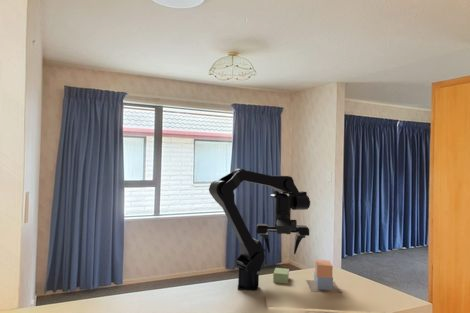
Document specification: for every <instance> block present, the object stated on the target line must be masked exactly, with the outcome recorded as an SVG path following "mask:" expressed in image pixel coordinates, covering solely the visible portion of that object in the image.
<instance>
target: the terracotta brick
mask: <svg viewBox="0 0 470 313" xmlns="http://www.w3.org/2000/svg"><path fill="white" fill-rule="evenodd" d="M333 267H334V266H333V264H332V263H331V261H330V260H326V259H325V260H324V259H314V271H315V273H316V276H317V277H323V278H332V277H333V269H334V268H333Z"/></svg>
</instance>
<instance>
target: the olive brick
mask: <svg viewBox="0 0 470 313" xmlns="http://www.w3.org/2000/svg"><path fill="white" fill-rule="evenodd" d="M289 273H290V268H283V267H282V268H281V267H275V268H274V271H273V274H272V276H273V277H272V279H273V281H272V283H277V284H289V277H290V274H289Z"/></svg>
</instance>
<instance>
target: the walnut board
mask: <svg viewBox="0 0 470 313" xmlns="http://www.w3.org/2000/svg"><path fill="white" fill-rule="evenodd" d="M305 281H306V283H307V285H308V288H309V289H310V292H312V293H331V294H332V293H333V294H343V292H342V290H341V289H340V287H338V286H339V285H337V284H336V282H335V281H334V280H333V290H320V289H317V287H316V285H315V283H314V280H310V279H306V280H305Z"/></svg>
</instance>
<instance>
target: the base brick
mask: <svg viewBox="0 0 470 313" xmlns="http://www.w3.org/2000/svg"><path fill="white" fill-rule="evenodd" d="M313 273H314V274H313V278H314V283H315V285H316V287H317V289H320V290H333V281H334V277H333V276H332V278H323V277H317V276H316V273H315V270H314V272H313Z"/></svg>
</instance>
